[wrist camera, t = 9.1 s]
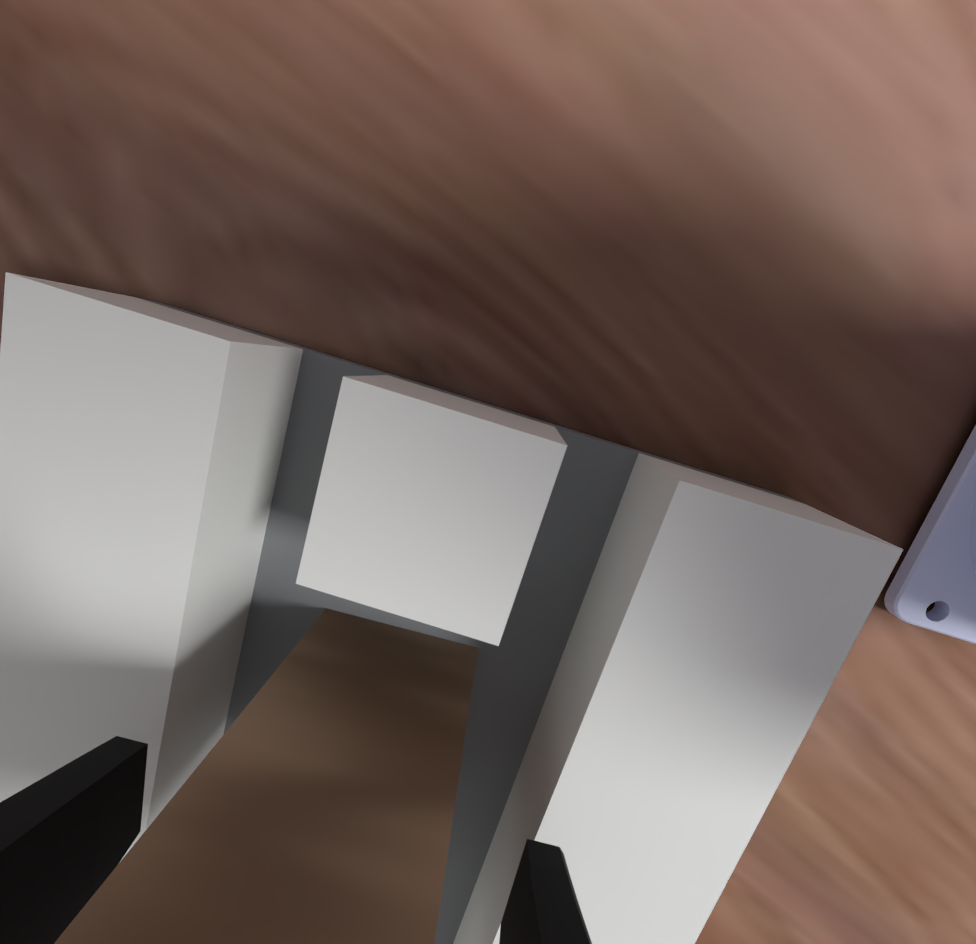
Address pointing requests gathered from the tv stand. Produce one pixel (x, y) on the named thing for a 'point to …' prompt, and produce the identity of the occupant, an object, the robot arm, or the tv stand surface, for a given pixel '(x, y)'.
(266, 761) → the walnut pin
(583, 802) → the socket block
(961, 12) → the tv stand surface
